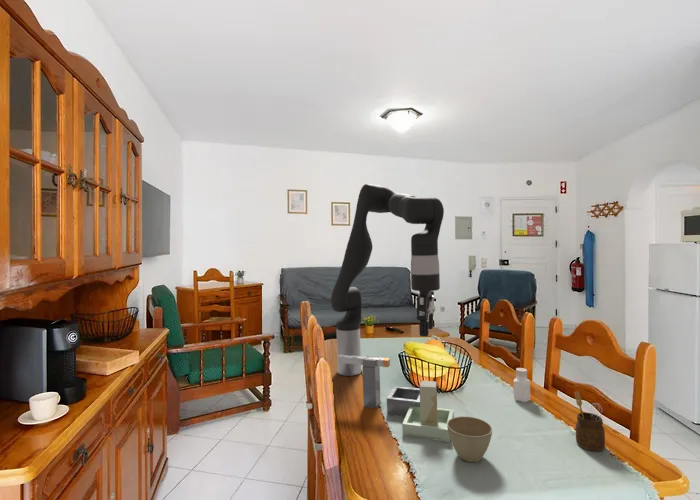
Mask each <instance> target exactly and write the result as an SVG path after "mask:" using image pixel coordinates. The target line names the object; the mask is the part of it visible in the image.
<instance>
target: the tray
mask: <svg viewBox="0 0 700 500" xmlns="http://www.w3.org/2000/svg"><path fill="white" fill-rule="evenodd" d="M454 411H455V410H454V409H449V408H440V407H437V419H438V421H437V426H429V425H422V424H421V420H420V407H413V406H410V408H409V410H408V412H407V415H406V416H404V419H403V420H402V421H403V422H402V423H401V424H402V425H401V426H402V428H401V429H402V436H405V437H406V436H407V437H411V438H412V437H414V438H419V439H420V438H421V439H427V440H435V441H440V442H446V443H447V442H448V443H451V439H450V436H449V433H448V427H447V422H448V421H449V420H450V419H452V418H455V413H454Z"/></svg>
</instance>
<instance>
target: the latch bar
mask: <svg viewBox="0 0 700 500" xmlns="http://www.w3.org/2000/svg"><path fill="white" fill-rule="evenodd" d="M377 357H378V356H377ZM377 357H366V356H364V355H363V356H362V355H361V356H351V355H339V356H338V363H345V364H357V365H361V366H363V359H370V360H376V366H380V367H382V368H389V367H390V365H391V357H390V358H389V357H379V358H377Z"/></svg>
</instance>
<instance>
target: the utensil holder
mask: <svg viewBox="0 0 700 500" xmlns="http://www.w3.org/2000/svg"><path fill="white" fill-rule="evenodd" d="M574 396H575V402H576V405H577V406H578V407H579V411H580V412H579V413H577V417H576V419H577V421H576V422H575V441H576V444H577V445H578V446H579V447H580V448H582V449H584V450H587V451H590V452H601V451H602V452H603V451H604V450H605V446H606V433H605V427H604V425H603V424H604V421H603V418H602V415H600V416H599V414H600V412H599V411H601V412H603V407H602V405H601V404H600V403H597V402H593V403H592V404H591V406H590V407H591V408H590V411H589V412H583V409H582V405H583V401H582V397H581V394H580V391H574ZM593 405H594V406H593ZM596 406H598V407H600V408H598V411H597V413H596V414H595V411H596V410H595V408H596ZM592 408H593V410H592ZM600 409H601V410H600ZM592 411H593V412H592Z"/></svg>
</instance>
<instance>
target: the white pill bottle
mask: <svg viewBox="0 0 700 500" xmlns="http://www.w3.org/2000/svg"><path fill="white" fill-rule="evenodd" d="M515 376H516V377H515V378H514V379H513V399H514V401H517V402H520V403H521V402H522V403H528V402H529V401H530V399H531V381H530V379H528V370H527V369H526V368H525V367H524V368H523V367H517V368H515Z"/></svg>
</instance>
